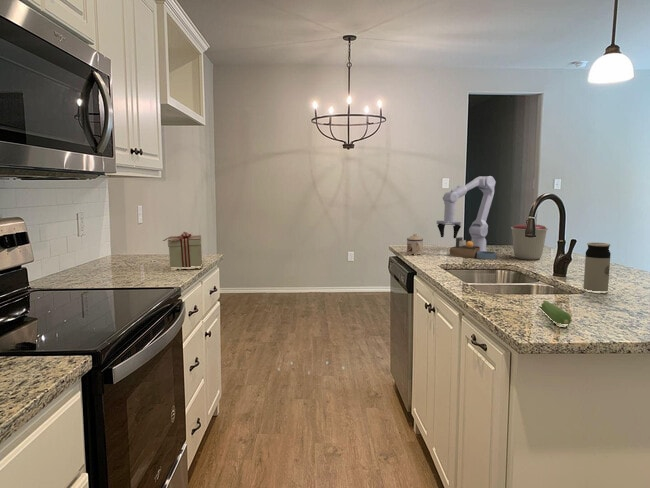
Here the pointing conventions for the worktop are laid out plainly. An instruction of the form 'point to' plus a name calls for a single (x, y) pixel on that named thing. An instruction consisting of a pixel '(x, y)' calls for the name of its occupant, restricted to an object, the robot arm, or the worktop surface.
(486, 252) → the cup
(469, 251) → the brown rectangular box
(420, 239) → the teacup with lid
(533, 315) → the worktop surface
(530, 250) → the white bucket
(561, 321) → the green elongated piece
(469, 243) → the ball
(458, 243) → the plunger
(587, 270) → the travel mug
